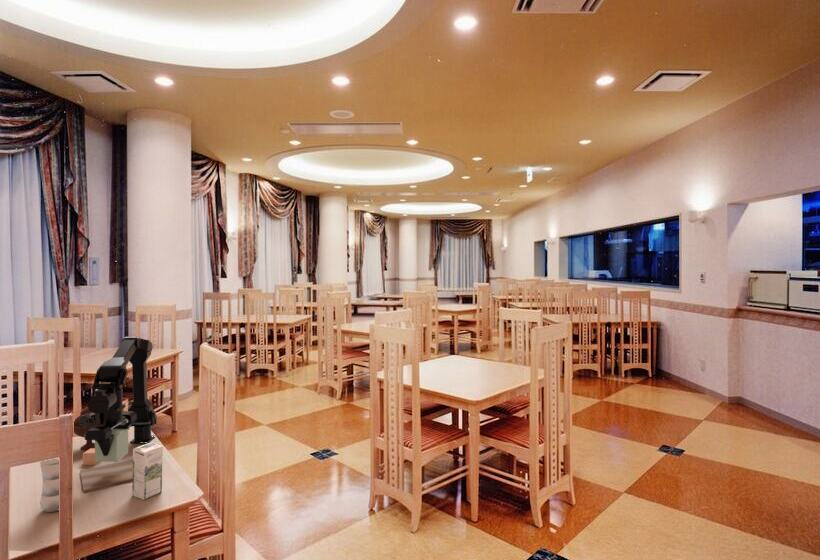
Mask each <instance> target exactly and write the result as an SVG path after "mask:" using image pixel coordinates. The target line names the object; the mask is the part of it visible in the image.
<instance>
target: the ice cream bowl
mask: <svg viewBox="0 0 820 560" xmlns="http://www.w3.org/2000/svg"><path fill="white" fill-rule="evenodd" d="M91 413H93V412H91V411H90V410H89V408H88V406H85V407H84V408H83V409H82V410H81V411H80V413H79V416H77V417H76V418H75V419H74V421H73V423H74V431H73V434H75V435H76V436H78V437H80V438H85V432H86V431H88V430H89V429H91V428H93V427H94V426H103V425H96V424H93V425H90V426H88V427H86V428H84V426H81V425H80V424H79V422H80V417H81V416H82V415H86V414H91ZM85 441H86V442H85V444H83V445H82V446H80V447H79V449H80V451H84V452H86V451H87V450H89V449H90V448H95V442H93V440H85Z"/></svg>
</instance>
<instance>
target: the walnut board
mask: <svg viewBox="0 0 820 560" xmlns="http://www.w3.org/2000/svg"><path fill="white" fill-rule="evenodd" d="M79 473H80V474H79V475H80V481H81V485H82V491H83V492H82V493H88V492H92V491H97V490H101V489H105V488H110V487H113V486H118V485H121V484H126V483H130V482H131V483H132V482H133V458H131V459H127V460H122V461H117V462H112V463H108V464H104V465H98V466H93V467H90V468H84V469H81V470H79Z"/></svg>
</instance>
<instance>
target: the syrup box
mask: <svg viewBox="0 0 820 560" xmlns="http://www.w3.org/2000/svg"><path fill="white" fill-rule="evenodd" d="M163 448H164V447H163V446H162V445H160V444H158V443H156V442H153V441H152V442H151V441H150V442H148V443H144V444H143V445H139V446H137V447H134V448H132V459H133V481H132V491H131V492H132V493H131V495H132V496H133V497H135V498H139V499H140V500H143V501H145V500H147V499H150V498H152V497H154V496H156V495H158V494H160V493H162V492H163V491H162V490H163V450H164V449H163Z"/></svg>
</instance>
